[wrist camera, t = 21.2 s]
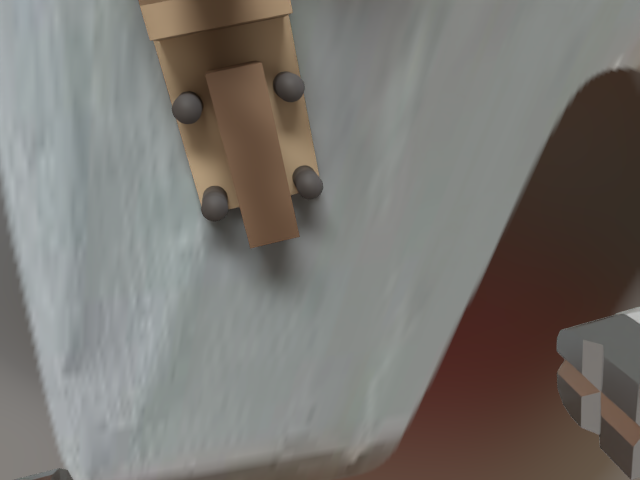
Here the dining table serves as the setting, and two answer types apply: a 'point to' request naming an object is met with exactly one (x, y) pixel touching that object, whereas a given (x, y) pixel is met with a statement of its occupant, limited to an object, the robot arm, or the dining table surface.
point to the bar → (253, 151)
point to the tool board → (220, 51)
